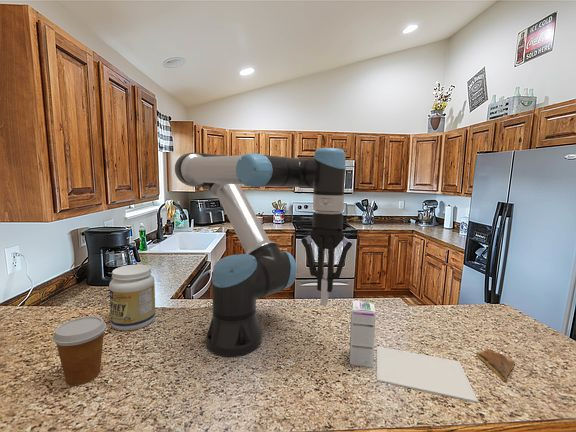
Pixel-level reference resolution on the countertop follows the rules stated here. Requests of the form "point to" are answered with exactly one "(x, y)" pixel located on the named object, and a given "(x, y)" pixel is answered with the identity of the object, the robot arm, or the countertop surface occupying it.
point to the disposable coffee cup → (80, 348)
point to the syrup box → (362, 333)
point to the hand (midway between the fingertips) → (324, 302)
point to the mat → (423, 373)
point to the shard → (497, 362)
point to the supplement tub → (132, 297)
